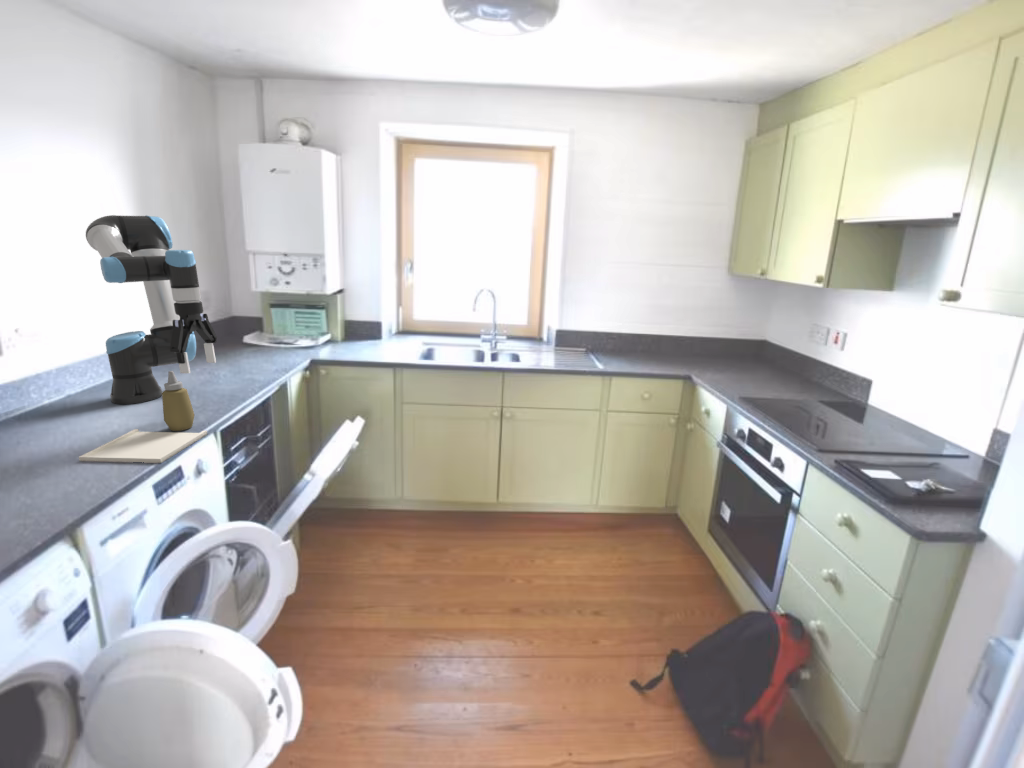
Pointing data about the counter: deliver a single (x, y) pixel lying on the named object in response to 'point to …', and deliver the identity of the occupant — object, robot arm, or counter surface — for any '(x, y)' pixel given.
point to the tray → (143, 447)
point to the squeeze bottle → (176, 405)
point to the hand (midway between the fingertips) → (199, 367)
